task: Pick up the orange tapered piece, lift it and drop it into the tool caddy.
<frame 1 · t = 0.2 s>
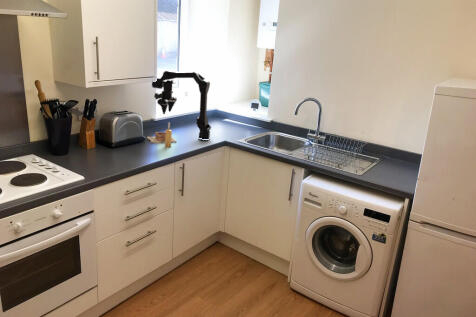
hand: (166, 112, 272), 14 cm above the worktop, tool pointing down, fingers open, 9 cm apart
orange tapered piece: (167, 146, 247), on the worktop
tool caddy: (161, 140, 259), on the worktop
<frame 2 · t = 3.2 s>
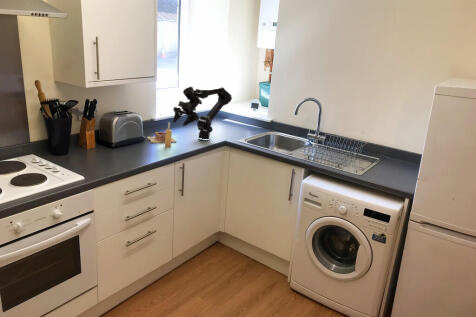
hand: (178, 123, 248), 14 cm above the worktop, tool tilted 45°, fingers open, 9 cm apart
nothing on the worktop moved.
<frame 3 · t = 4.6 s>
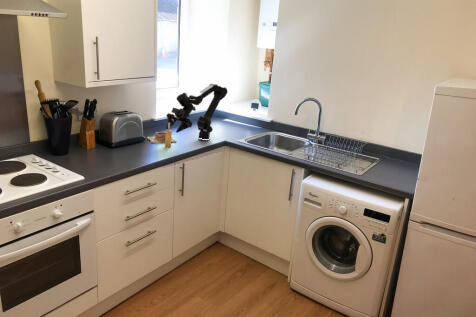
hand: (171, 130, 245), 10 cm above the worktop, tool tilted 45°, fingers open, 9 cm apart
nothing on the worktop moved.
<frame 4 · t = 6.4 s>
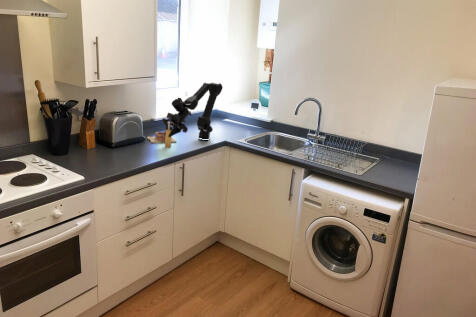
hand: (166, 135, 243), 7 cm above the worktop, tool tilted 45°, fingers closed on orange tapered piece, 4 cm apart
orange tapered piece: (167, 146, 247), on the worktop, touching gripper
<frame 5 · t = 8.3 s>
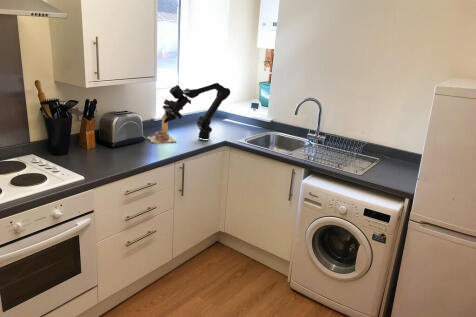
hand: (162, 121, 250), 13 cm above the worktop, tool tilted 45°, fingers closed on orange tapered piece, 4 cm apart
orange tapered piece: (164, 132, 253), point 6 cm above the worktop, touching gripper
when the fingers open (9 cm above the worktop, at t = 10.3 s): orange tapered piece drops 1 cm, resting on tool caddy.
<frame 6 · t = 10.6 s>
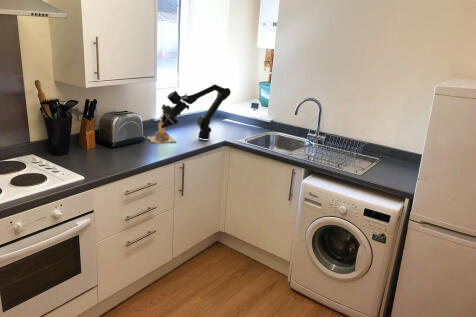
hand: (160, 126, 255), 9 cm above the worktop, tool tilted 45°, fingers open, 7 cm apart
orange tapered piece: (161, 138, 258), point 1 cm above the worktop, touching tool caddy
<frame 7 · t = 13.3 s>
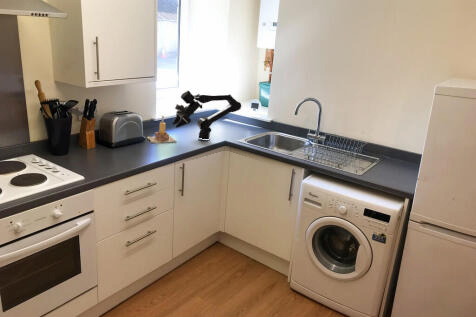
hand: (174, 125, 259), 10 cm above the worktop, tool tilted 45°, fingers open, 9 cm apart
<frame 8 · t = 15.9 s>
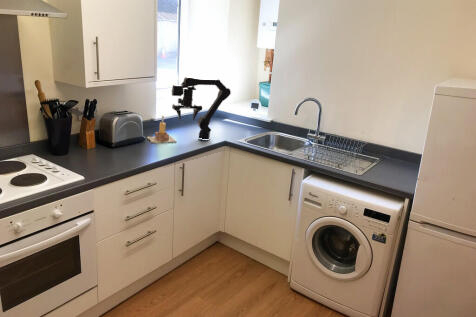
hand: (186, 120, 263), 13 cm above the worktop, tool pointing down, fingers open, 9 cm apart
nothing on the worktop moved.
at the end: orange tapered piece 0.0 cm off-centre on the tool caddy, point 0.8 cm above the tool caddy's base; orange tapered piece tilted 1°; the gripper is holding nothing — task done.
